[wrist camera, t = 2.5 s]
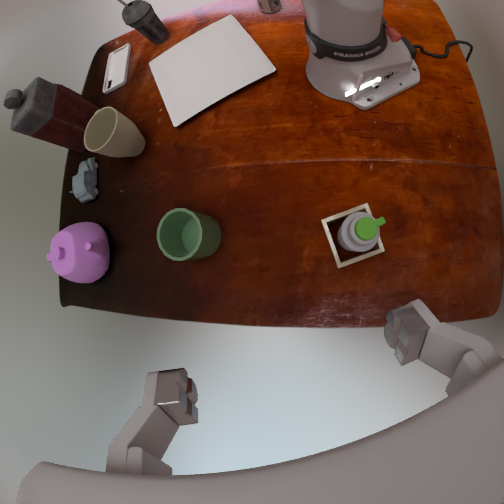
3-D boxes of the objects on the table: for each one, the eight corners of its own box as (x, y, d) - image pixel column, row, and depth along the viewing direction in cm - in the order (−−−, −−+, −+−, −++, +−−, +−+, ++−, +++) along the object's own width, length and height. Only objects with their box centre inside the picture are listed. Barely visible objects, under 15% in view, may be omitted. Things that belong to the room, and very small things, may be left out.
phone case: (126, 83, 56) (132, 44, 56) (123, 81, 54) (129, 42, 55) (105, 95, 57) (111, 56, 58) (102, 93, 56) (108, 53, 56)
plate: (278, 75, 46) (276, 69, 44) (178, 130, 51) (173, 127, 49) (233, 18, 48) (230, 13, 46) (152, 66, 54) (147, 62, 52)
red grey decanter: (104, 102, 57) (24, 60, 30) (103, 138, 57) (12, 101, 30) (81, 118, 60) (3, 84, 33) (80, 153, 59) (-8, 125, 32)
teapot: (75, 284, 59) (38, 289, 48) (70, 230, 60) (33, 228, 48) (133, 277, 54) (92, 282, 43) (126, 213, 55) (86, 206, 43)
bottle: (364, 249, 43) (392, 249, 24) (338, 252, 44) (346, 254, 25) (361, 222, 43) (386, 202, 24) (335, 225, 44) (341, 207, 25)
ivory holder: (362, 208, 43) (367, 202, 37) (377, 250, 42) (384, 251, 37) (321, 223, 45) (320, 219, 39) (336, 265, 44) (338, 268, 38)
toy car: (98, 159, 57) (84, 154, 52) (99, 199, 57) (84, 196, 52) (81, 167, 59) (67, 164, 54) (81, 206, 59) (67, 204, 54)
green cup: (213, 206, 50) (192, 199, 42) (227, 249, 49) (208, 250, 41) (176, 223, 52) (151, 220, 44) (188, 264, 51) (165, 267, 43)
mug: (159, 123, 53) (125, 100, 41) (146, 167, 53) (107, 151, 42) (123, 123, 55) (88, 105, 44) (110, 163, 56) (73, 150, 44)
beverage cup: (176, 25, 52) (136, -21, 33) (170, 44, 52) (125, -2, 33) (153, 32, 54) (111, -9, 35) (146, 51, 54) (100, 10, 35)
